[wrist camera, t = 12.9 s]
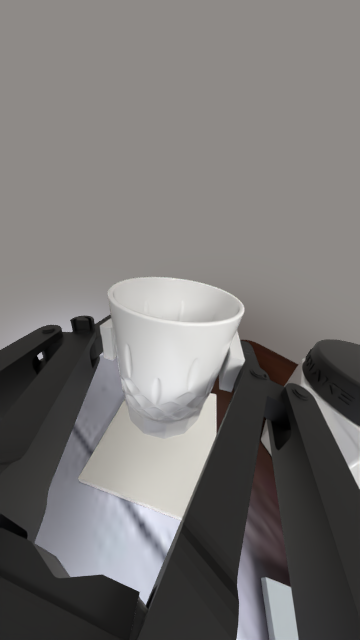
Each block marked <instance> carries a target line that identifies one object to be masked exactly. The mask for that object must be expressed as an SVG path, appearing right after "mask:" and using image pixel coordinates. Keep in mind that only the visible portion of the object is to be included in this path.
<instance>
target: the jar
mask: <svg viewBox="0 0 360 640" xmlns="http://www.w3.org/2000/svg"><path fill="white" fill-rule="evenodd" d="M288 383H294V384H297V385H300V386H302V387H304V388H305V389H306V390H308V391H309V392H310V393H311V394H312V395H313V397H314V398H315V400H316V402H317V404H318V406H319V408H320V410H321V412H322V414H323V416H324V418H325V420H326V422H327V424H328V426H329V428H330V430H331V432H332V434H333V436H334V438H335V440H336V442H337V444H338V446H339V448H340V450H341V452H342V454H343V456H344V458H345V460H346V462H347V465H348V467H349V469H350V471H351V473H352V475H353V477H354V479H355V481H356V483H357V485H358V487H359V489H360V345H358V344H354V343H350V342H346V341H340V340H321V341H319V342H317V343H316V344H315V346H314V347H313V348H312V349H311V350H310V351H309V353H308V355H307V356H306V358H303V359H302V360H301V362H300V364H299V365H298V366H297V368H296V369H295V371H294V373H293V374H292V376H291V377H290V379H289V380H288V382H287V383H286V385H287V384H288ZM286 385H285V386H286ZM285 386H284V387H285ZM261 442H262V443H263V445H264V446H265V447H266V449H267V450H268V452H269V453H270V455H271V456H272V454H271V447H270V440H269V433H268V426H267V420H266V422H265V425H264V429H263V433H262V436H261Z"/></svg>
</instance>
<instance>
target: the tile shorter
mask: <svg viewBox="0 0 360 640" xmlns="http://www.w3.org/2000/svg"><path fill="white" fill-rule="evenodd" d="M215 438H216V395H215V394H211V393H210V394H209V396H208V398H207V399H206V401H205V402H204V405H203V407H202V410H201V412H200V415H199V418H198V420H197V421H196V422H195V423H194V424H193V425H192V426H191V427H190V428H189V429H188V430H187V431H186V432H185V433H184V434H180V435H177V436H173V437H169V438H166V439H163V438H159V437H155V436H151V435H147V434H144V433H143V432H142V431H141V430H140V429H139V428H138V427H137V426H136V425H135V424H134V423H133V422H132V421H131V420H130V417H129V413H128V409H127V406H126V401H125V400H124V401H123V403H122V405H121V406H120V408H119V410H118V411H117V413H116V415H115V417H114V418H113V420H112V422H111V423H110V425H109V427H108V428H107V430H106V432H105V433H104V435H103V437H102V438H101V440H100V442H99V444H98V445H97V447H96V449H95V450H94V452H93V454H92V455H91V457H90V459H89V460H88V462H87V464H86V466H85V467H84V469H83V471H82V472H81V474H80V476H79V477H78V479H79V481H80V482H81V483H84V484H86V485H89V486H92V487H94V488H97V489H99V490H102V491H105V492H107V493H110V494H112V495H115V496H117V497H120V498H123V499H125V500H128V501H130V502H133V503H136V504H138V505H141V506H143V507H146V508H149V509H151V510H154V511H156V512H159V513H161V514H164V515H167V516H169V517H172V518H174V519H177V520H180V521H181V520H182V518H183V515H184V513H185V510H186V508H187V505H188V503H189V501H190V498H191V496H192V493H193V491H194V488H195V486H196V484H197V481H198V479H199V476H200V474H201V472H202V469H203V467H204V464H205V462H206V459H207V457H208V455H209V452H210V450H211V447H212V445H213V442H214V440H215Z"/></svg>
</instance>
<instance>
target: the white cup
mask: <svg viewBox="0 0 360 640" xmlns="http://www.w3.org/2000/svg"><path fill="white" fill-rule="evenodd" d="M108 300H109V306H110V312H111V320H112V327H113V334H114V340H115V348H116V355H117V361H118V368H119V373H120V378H121V383H122V389H123V392H124V393H125V401H126V406H127V409H128V413H129V417H130V420H131V421H132V422H133V423H134V424H135V425H136V426H137V427H138V428H139V429H140V430H141V431H142V432H143V433H144V434H147V435H151V436H155V437H159V438H163V439H166V438H169V437H173V436H177V435H180V434H184V433H185V432H186V431H187V430H188V429H189V428H190V427H191V426H192V425H193V424H194V423H195V422H196V421H197V420H198V418H199V415H200V412H201V410H202V407H203V405H204V402H205V401H206V399H207V398H208V396H209V394H210V392H211V390H212V387H213V385H214V382H215V381H216V378H217V376H218V374H219V372H220V370H221V367H222V365H223V362H224V360H225V357H226V355H227V352H228V350H229V348H230V345H231V343H232V340H233V338H234V335H235V333H236V330H237V328H238V325H239V323H240V321H241V318H242V316H243V314H244V306H243V304H242V302H241V301H240V300H239V299H237V298H236V297H235V296H233V295H232V294H230V293H228V292H226V291H224V290H221V289H219V288H216V287H213V286H210V285H207V284H203V283H200V282H195V281H190V280H184V279H177V278H166V277H142V278H132V279H127V280H123V281H121V282H118V283H116V284H114V285H113V286H111V287H110V288H109V290H108Z"/></svg>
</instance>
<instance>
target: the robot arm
mask: <svg viewBox="0 0 360 640" xmlns="http://www.w3.org/2000/svg"><path fill="white" fill-rule="evenodd" d="M70 321H71V324H72V329H73V332H62V329H61V327H60V326H58V325H47V326H44V327H41V328H39V329H37V330H35V331H33V332H32V333H30V334H28V335H26V336H24V337H23V338H21V339H19V340H17V341H16V342H14V343H12V344H10V345H9V346H7V347H5V348H3V349H2V350H0V640H236V638H237V628H238V616H239V599H238V590H237V576H238V568H239V562H240V556H241V550H242V543H243V537H244V531H245V525H246V519H247V513H248V507H249V501H250V495H251V489H252V483H253V477H254V471H255V465H256V459H257V453H258V447H259V441H260V435H261V429H262V423H263V417H265V418H266V420H267V426H268V433H269V440H270V447H271V454H272V461H273V468H274V474H275V481H276V488H277V495H278V502H279V509H280V515H281V522H282V529H283V536H284V543H285V550H286V557H287V563H288V570H289V577H290V584H291V591H292V598H293V604H294V611H295V618H296V625H297V632H298V639H299V640H360V489H359V487H358V485H357V483H356V481H355V479H354V477H353V475H352V473H351V471H350V469H349V467H348V465H347V462H346V460H345V458H344V456H343V454H342V452H341V450H340V448H339V446H338V444H337V442H336V440H335V438H334V436H333V434H332V432H331V430H330V428H329V426H328V424H327V422H326V420H325V418H324V416H323V414H322V412H321V410H320V408H319V406H318V404H317V402H316V400H315V398H314V397H313V395H312V394H311V393H310V392H309V391H308V390H306V389H305V388H304V387H302V386H300V385H297V384H294V383H288V384H287V385H286V386H285V387H283V386H281V385H279V384H277V383H275V382H273V381H271V380H270V379H269V376H268V374H267V373H266V372H265V371H264V370H263V369H261V368H260V367H259V364H258V361H257V359H256V356H255V353H254V350H253V348H252V346H251V345H250V344H249V343H248V342H245V341H240V339H239V335H238V332H237V330H236V333H235V335H234V338H233V340H232V343H231V345H230V348H229V350H228V352H227V355H226V357H225V360H224V362H223V365H222V367H221V370H220V372H219V389H222V390H225V391H229V392H231V391H232V389H233V387H234V394H233V396H232V399H231V401H230V403H229V406H228V409H227V411H226V413H225V416H224V418H223V421H222V423H221V425H220V428H219V430H218V433H217V435H216V438H215V440H214V442H213V445H212V447H211V450H210V452H209V455H208V457H207V459H206V462H205V464H204V467H203V469H202V472H201V474H200V476H199V479H198V481H197V484H196V486H195V488H194V491H193V493H192V496H191V498H190V501H189V503H188V505H187V508H186V510H185V513H184V515H183V518H182V520H181V522H180V525H179V527H178V530H177V532H176V534H175V537H174V539H173V542H172V544H171V546H170V549H169V551H168V553H167V556H166V558H165V560H164V563H163V565H162V567H161V570H160V572H159V575H158V577H157V579H156V582H155V584H154V587H153V589H152V591H151V594H150V596H149V599H148V601H147V603H146V605H145V604H144V603H143V601H142V600H141V599H140V598H139V592H138V591H136V590H134V589H132V588H130V587H128V586H125V585H123V584H121V583H119V582H117V581H115V580H113V579H110V578H108V577H106V576H104V575H93V576H81V577H70V576H69V574H68V573H67V572H66V570H65V569H64V567H63V566H62V564H61V563H60V561H59V560H58V559H57V557H56V556H54V555H53V554H51V553H49V552H48V551H46V550H44V549H43V548H41V547H39V546H38V545H36V544H35V543H34V541H35V539H36V536H37V533H38V531H39V528H40V525H41V523H42V520H43V517H44V514H45V510H46V505H47V495H48V490H49V487H50V484H51V481H52V479H53V476H54V474H55V471H56V469H57V466H58V464H59V461H60V459H61V456H62V454H63V451H64V449H65V446H66V444H67V441H68V439H69V436H70V434H71V431H72V429H73V426H74V424H75V421H76V419H77V416H78V414H79V411H80V409H81V406H82V404H83V401H84V398H85V396H86V393H87V391H88V388H89V386H90V383H91V381H92V378H93V376H94V373H95V371H96V368H97V366H98V363H99V361H100V357H99V355H100V354H101V353H102V352H103V354H104V358H106V359H109V360H113V361H114V360H115V358H116V357H117V355H116V348H115V340H114V334H113V327H112V320H111V315H109V316H107V317H106V318H104V319H103V320H102V321H99V322H98V323H96V324H94V319H93V318H92V317H91V316H78V317H75V318H73V319H71V320H70ZM41 352H42V355H43V357H44V358H42V359H41V360H39V359H38V357H37V355H38V354H39V353H41ZM137 602H138V603H137ZM135 611H136V612H135ZM133 620H134V621H133Z"/></svg>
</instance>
